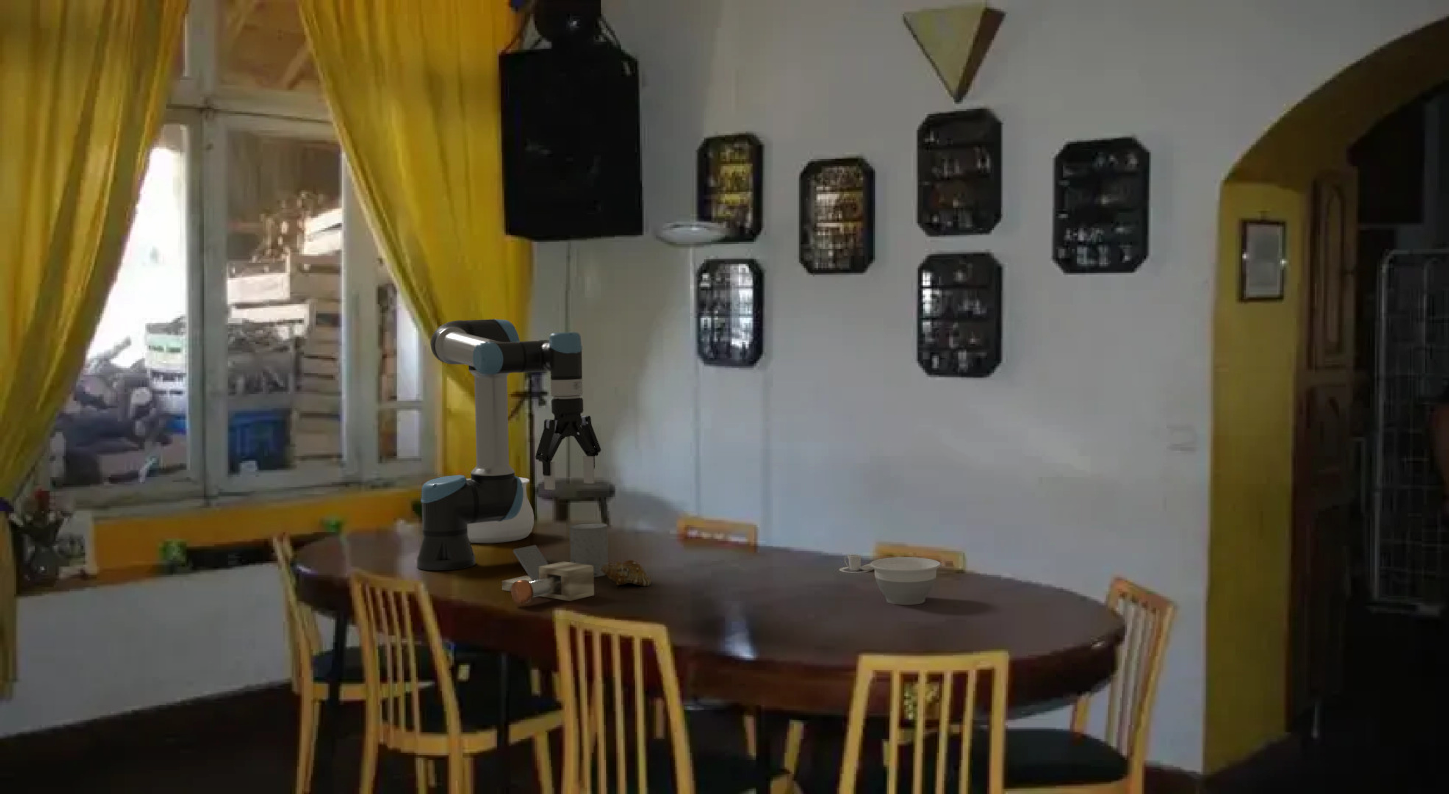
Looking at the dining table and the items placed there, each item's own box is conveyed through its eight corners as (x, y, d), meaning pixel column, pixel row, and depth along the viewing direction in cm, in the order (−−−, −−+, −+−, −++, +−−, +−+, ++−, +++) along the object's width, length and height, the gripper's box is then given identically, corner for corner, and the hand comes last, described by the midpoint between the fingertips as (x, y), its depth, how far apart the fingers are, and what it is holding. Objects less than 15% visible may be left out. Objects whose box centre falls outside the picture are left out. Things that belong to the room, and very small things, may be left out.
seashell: (628, 602, 349) (607, 567, 347) (615, 602, 356) (594, 568, 354) (658, 580, 353) (637, 546, 351) (644, 581, 360) (623, 547, 358)
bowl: (923, 610, 318) (923, 572, 318) (858, 604, 327) (857, 566, 326) (952, 597, 332) (952, 560, 331) (889, 591, 340) (888, 555, 339)
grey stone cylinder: (602, 577, 364) (601, 528, 363) (565, 576, 366) (564, 528, 365) (612, 570, 373) (611, 523, 372) (577, 569, 375) (575, 522, 374)
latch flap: (512, 551, 348) (514, 548, 347) (533, 547, 353) (536, 544, 353) (535, 586, 344) (537, 583, 343) (556, 581, 349) (558, 578, 349)
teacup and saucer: (879, 571, 367) (879, 555, 367) (860, 576, 361) (860, 560, 361) (852, 567, 373) (852, 551, 373) (832, 572, 367) (832, 556, 367)
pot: (527, 544, 416) (526, 486, 415) (442, 546, 417) (440, 487, 415) (540, 530, 442) (538, 475, 441) (460, 531, 442) (458, 476, 441)
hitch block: (502, 590, 350) (501, 561, 350) (526, 584, 357) (525, 556, 356) (569, 601, 336) (569, 571, 336) (594, 595, 342) (593, 565, 342)
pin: (511, 602, 332) (510, 580, 332) (555, 592, 343) (554, 570, 343) (527, 605, 329) (526, 582, 328) (571, 594, 340) (570, 572, 339)
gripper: (541, 400, 333) (544, 493, 334) (613, 394, 353) (616, 481, 354) (518, 400, 337) (521, 491, 339) (590, 393, 357) (593, 479, 359)
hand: (569, 486), depth 346 cm, fingers open, 13 cm apart
